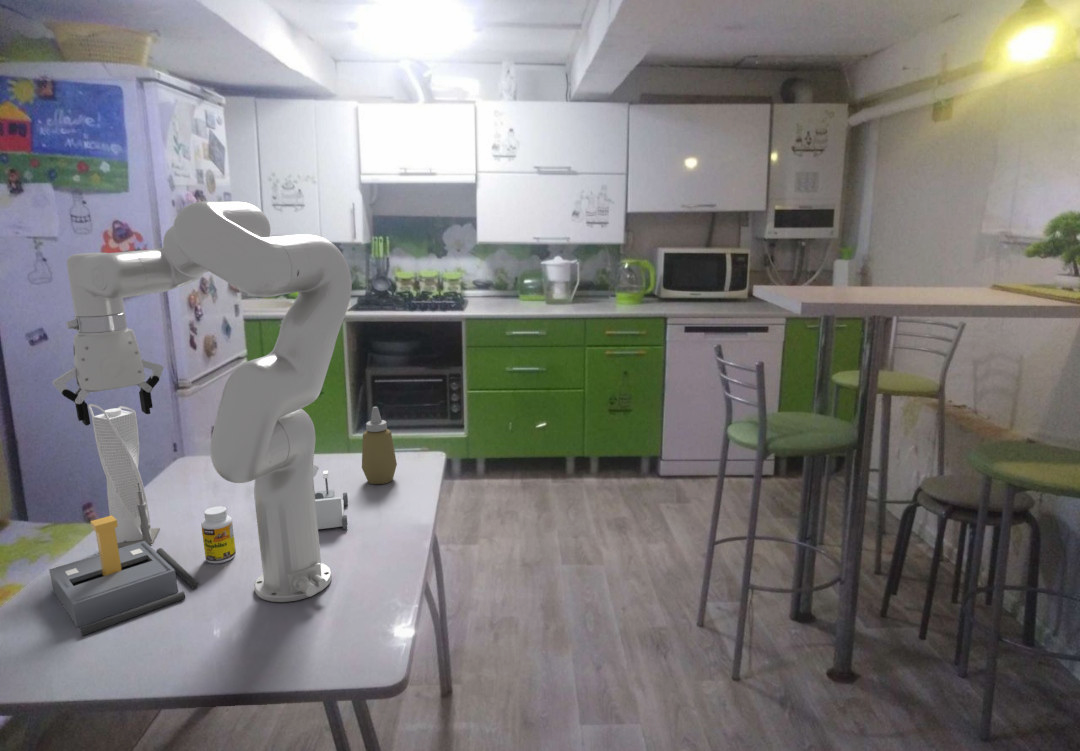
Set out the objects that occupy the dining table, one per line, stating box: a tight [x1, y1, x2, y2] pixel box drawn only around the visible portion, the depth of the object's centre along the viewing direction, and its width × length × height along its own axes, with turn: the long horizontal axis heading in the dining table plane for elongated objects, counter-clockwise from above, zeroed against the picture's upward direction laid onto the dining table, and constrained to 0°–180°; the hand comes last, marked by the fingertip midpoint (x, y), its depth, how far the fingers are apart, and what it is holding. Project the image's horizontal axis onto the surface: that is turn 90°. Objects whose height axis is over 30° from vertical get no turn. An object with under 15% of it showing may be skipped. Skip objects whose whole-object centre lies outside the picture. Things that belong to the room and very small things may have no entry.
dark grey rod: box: [155, 547, 199, 589], centre depth 131 cm, size 18×1×1 cm, turn 44°
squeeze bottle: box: [361, 406, 398, 485], centre depth 171 cm, size 8×8×18 cm
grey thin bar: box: [79, 591, 186, 636], centre depth 117 cm, size 1×15×1 cm, turn 134°
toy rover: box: [313, 464, 349, 531], centre depth 152 cm, size 18×10×12 cm
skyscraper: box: [87, 403, 161, 549], centre depth 141 cm, size 8×8×28 cm
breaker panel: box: [48, 541, 179, 628], centre depth 124 cm, size 16×15×4 cm
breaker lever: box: [90, 515, 122, 576], centre depth 123 cm, size 3×3×10 cm
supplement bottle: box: [200, 505, 237, 564], centre depth 135 cm, size 5×5×10 cm
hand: (117, 418), depth 132 cm, fingers open, 9 cm apart
